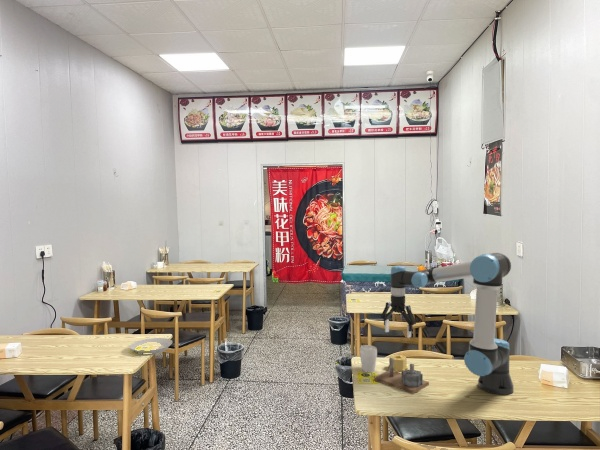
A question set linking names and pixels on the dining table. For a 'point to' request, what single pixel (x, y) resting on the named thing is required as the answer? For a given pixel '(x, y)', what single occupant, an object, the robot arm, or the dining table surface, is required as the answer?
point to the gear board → (403, 379)
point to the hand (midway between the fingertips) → (397, 334)
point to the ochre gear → (399, 363)
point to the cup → (368, 357)
